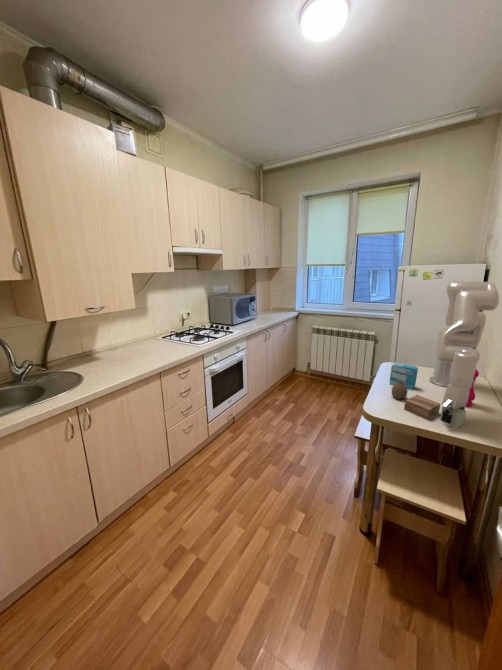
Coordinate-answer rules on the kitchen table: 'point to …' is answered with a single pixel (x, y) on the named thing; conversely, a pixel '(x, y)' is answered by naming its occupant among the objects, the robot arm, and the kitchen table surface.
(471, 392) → the pepper mill
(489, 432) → the kitchen table surface
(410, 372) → the data package
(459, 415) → the green cube
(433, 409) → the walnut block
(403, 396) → the vase
